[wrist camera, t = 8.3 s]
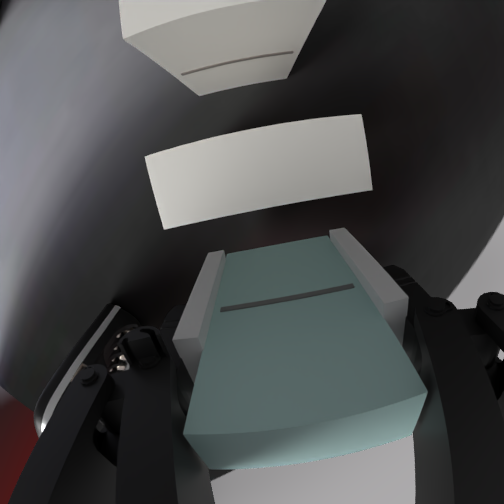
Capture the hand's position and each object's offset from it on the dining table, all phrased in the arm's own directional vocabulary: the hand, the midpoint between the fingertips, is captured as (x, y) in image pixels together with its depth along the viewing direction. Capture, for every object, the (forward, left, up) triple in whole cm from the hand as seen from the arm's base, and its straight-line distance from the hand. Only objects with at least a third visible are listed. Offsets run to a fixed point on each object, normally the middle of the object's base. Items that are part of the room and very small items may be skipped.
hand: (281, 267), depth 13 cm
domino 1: (-10, 0, -4) cm, 11 cm away
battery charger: (+6, -13, -4) cm, 15 cm away
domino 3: (0, 0, -1) cm, 1 cm away
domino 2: (-5, 0, -4) cm, 7 cm away
